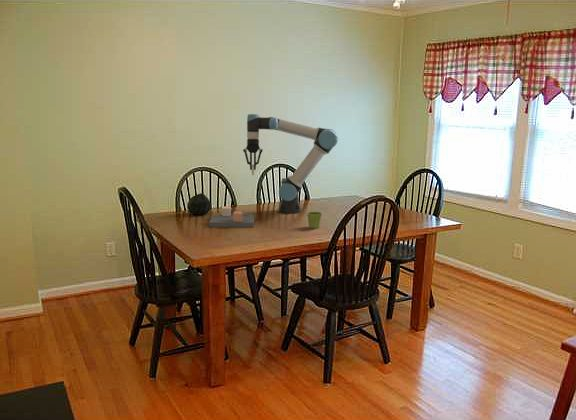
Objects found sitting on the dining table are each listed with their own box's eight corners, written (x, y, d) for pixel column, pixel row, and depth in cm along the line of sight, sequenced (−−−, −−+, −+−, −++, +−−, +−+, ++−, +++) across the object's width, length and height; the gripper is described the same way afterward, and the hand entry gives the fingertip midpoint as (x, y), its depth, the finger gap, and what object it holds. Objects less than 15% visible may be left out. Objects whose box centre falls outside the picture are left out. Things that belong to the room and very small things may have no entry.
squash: (184, 204, 337) (188, 189, 326) (206, 203, 343) (210, 189, 332) (187, 221, 329) (191, 207, 318) (210, 220, 335) (214, 206, 324)
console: (254, 218, 321) (254, 213, 321) (253, 227, 298) (253, 222, 297) (212, 218, 320) (212, 213, 319) (209, 227, 296) (209, 222, 296)
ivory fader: (230, 214, 318) (230, 206, 317) (230, 216, 312) (230, 208, 311) (222, 214, 317) (222, 206, 316) (222, 216, 312) (221, 208, 311)
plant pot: (311, 229, 295) (311, 215, 293) (303, 226, 303) (303, 212, 301) (324, 228, 299) (325, 214, 297) (316, 225, 307) (317, 211, 305)
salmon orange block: (242, 219, 304) (242, 211, 303) (242, 221, 298) (242, 213, 297) (234, 219, 303) (234, 211, 302) (233, 221, 297) (233, 213, 296)
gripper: (263, 138, 328) (262, 174, 333) (243, 137, 327) (243, 174, 332) (263, 138, 321) (262, 175, 325) (242, 138, 320) (242, 175, 325)
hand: (252, 174), depth 329 cm, fingers closed
